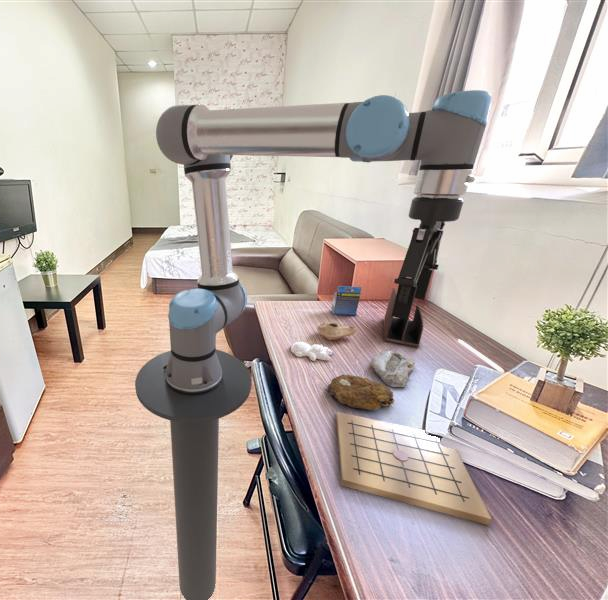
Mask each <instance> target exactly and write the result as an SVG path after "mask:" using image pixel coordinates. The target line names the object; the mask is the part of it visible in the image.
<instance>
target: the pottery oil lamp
mask: <svg viewBox="0 0 608 600" xmlns="http://www.w3.org/2000/svg"><path fill="white" fill-rule="evenodd" d="M317 332H318V333H319V334H320V335H322V336H323V337H324V338H325V339H327V340H329V341H337V340H339V339H341V338H346V337H350V336H353V335H355V334H356V333H357V328H356V327H355V326H352V325H347V324H343V323H337V322H332V321H325V322H323V323H320V324H319V325H318V326H317Z"/></svg>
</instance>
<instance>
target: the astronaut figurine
mask: <svg viewBox="0 0 608 600" xmlns="http://www.w3.org/2000/svg"><path fill="white" fill-rule="evenodd" d="M290 351H291V353H292V354H294V355H295V356H296V357H298V358H302V357H308V358H309V360H311V361H312V362H315V361H316V359H317V360H321V361H330V359H331V356H330V355H332V352H333V351H332V350H331V349H330V348H329V347H327V346H323V344H316V343H315V344H313V345H310V344H309V343H307V342H306V341H297V342H294V343H292V345H291V347H290Z"/></svg>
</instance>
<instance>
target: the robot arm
mask: <svg viewBox="0 0 608 600" xmlns="http://www.w3.org/2000/svg"><path fill="white" fill-rule="evenodd" d="M492 102H493V96H492V93H490V92H489V91H486V90H481V89H473V90H461V91H456V92H450V93H446V94H442V95H440V96H439V97H438V98H437V99H436V100H435V102H434V104H433V106H432V107H431V109H430V110H426V111H418V112H416V111H415V112H409V110H408V108H407V107H406V105H405V104H404V103H403V101H402V100H400V99H398V98H396V97H394V96H391V95H387V94H380V95H375V96H372V97H369V98H367V99H365V100H364V101H354V102H353V101H352V102H335V103H334V102H331V103H317V104H299V105H298V104H297V105H282V106H281V105H280V106H263V107H243V108H226V109H225V108H224V109H211V110H210V108H208V106H206V105H205V104H203V103H202V104H201V103H200V104H175V105H172V106H169V107H168V108H166V109H165V110H164V111H163V112H162V113H161V115H160V116H159V119H158V120H157V123H156V128H155V139H156V142H157V146H158V148H159V150H160V151H161V153H162V155H163V156H164V157H165V158H167V159H168V160H169V161H171V162H172V163H175V164H178V165H182V166H183V170H184V172H183V173H184V177H185V178H186V179H187V180H189V181H190V184H191V189H192V196H193V197H192V198H193V206H194V207H193V208H194V216H195V224H196V235H197V243H198V244H197V245H198V251H199V252H198V253H199V259H200V260H199V263H200V267H201V268H200V269H201V271H200V272H201V275H200V276H199V277H198V279H197V280H196V283H197V288H191V289H189V290H188V289H185V290H182V291H180V292H178V293H176V294H175V295H174V296H173V297H172V298H171V299H170V301H169V304H168V313H167V317H168V321H169V322H168V324H169V325H168V327H169V343H170V351H171V355H170V358H169V361H168V364H167V365H166V366H164V367H163V368H164V369H166V371H165V380H166V383H167V385H168V386H169V387H170V388H171V389H172V390H174V391H175V392H178V393H181V394H185V395H200V394H205V393H208V392H210V391H212V390H214V389H215V388H217V387H218V386H219V384H220V383H221V381H222V369H221V365H220V363H219V360H218V357H217V354H216V349H217V334H218V333H219V332H221V331H222V330H223V329H225V327H227V326H229V325H230V324H231V323H232V322H234V321H235V320H237V319H238V318H239V317H240V316H241V315H242V313H244V311H245V309H246V307H247V303H248V295H247V291H246V289H245V287H244V286H242V284H241V282H240V277H239V275H238V274H236V272H235V271H234V269H233V267H234V266H233V257H232V245H231V242H232V241H231V232H230V230H231V229H230V219H229V207H228V193H227V181H226V179H227V177H228V176H229V175H230V173H231V172H232V166H231V165H232V163H231V161H232V159H233V156H253V157H254V156H255V157H256V156H259V157H260V156H261V157H262V156H264V157H315V158H318V157H319V158H341V159H342V158H343V159H345V158H346V159H349V160H350V161H352V162H358V163H359V162H361V163H366V164H368V163H373V162H399V161H420V166H419V169H418V172H417V176H416V180H415V183H414V187H413V188H414V189H413V194H414V195H416V196H415V197H413V198H412V199H411V203H410V207H409V212H408V217H409V219H412V220H417V221H420V224H419V226H418V227H414V228H413V229H412V235H411V239H410V242H409V245H408V248H407V251H406V253H405V257H404V259H403V262H402V265H401V268H400V271H399V274H398V277H397V278H394V281H393V283H394V284H397V285H398V286H397V290H396V299H395V303H394V307H393V311H392V315H391V316H393V318H398V319H399V318H400V319H404V320H408V319H409V320H410V315H411V311H412V309H413V303H414V301H415V299H417V300H421V301H425V300H426V297H427V293H428V289H429V287H430V286H429V285H430V282H431V278H432V275H433V270H435V271H437V270H438V268H439V266H440V265H439V264H437V262H438V256H439V252H440V251H439V250H440V245H441V241H442V238H443V236H444V227H445V225H446V223H448V222H456V221H457V220H459V218H460V215H461V212H462V208H463V204H464V199H463V198H461V196H464V195H466V194H467V190H468V186H469V184H468V183H474V182H475V180H476V177H475V176H474V175H472V173H473V170H474V167H475V163H476V160H477V156H478V153H479V150H480V146H481V144H482V141H483V137H484V134H485V130H486V127H487V126H488V118H489V113H490V109H491V106H492Z"/></svg>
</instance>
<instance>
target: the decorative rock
mask: <svg viewBox="0 0 608 600" xmlns="http://www.w3.org/2000/svg"><path fill="white" fill-rule="evenodd" d="M327 387H328V389H327V391H328V392H329V396H332V397H334V398H335V399H337V401H338V403H340V404H342V405H347V406H348V407H350V408H355V409H356V408H357V409H364V410H370V411H375V410H379V409H381V407H392V405H395V404H394V403H395V398H394V396H395V395H394V392H393V391H392V390H391V389H390V388H389V387H388V386H387V385H384V384H382V383H380V382H377V381H373V380H370V379H369V378H368V377H362V376H357V375H352V374H341V375H339V376H336V377H334V378H332V379H331V383H329V384H328V385H327Z"/></svg>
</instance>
